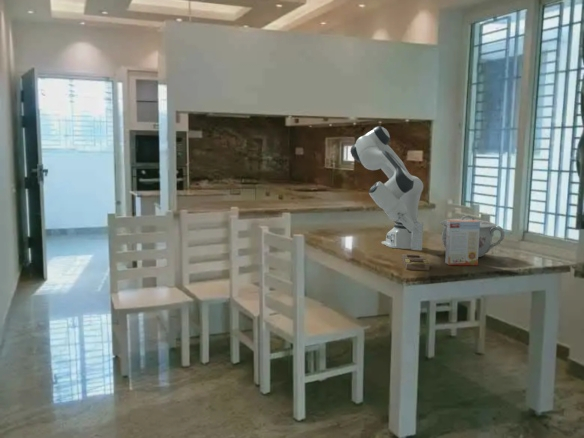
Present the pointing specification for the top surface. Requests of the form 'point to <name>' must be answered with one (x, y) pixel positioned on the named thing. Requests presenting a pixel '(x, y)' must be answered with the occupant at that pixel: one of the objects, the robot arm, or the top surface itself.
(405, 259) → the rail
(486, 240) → the chamber pot
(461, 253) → the cracker box
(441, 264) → the top surface
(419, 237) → the peg
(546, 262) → the top surface
